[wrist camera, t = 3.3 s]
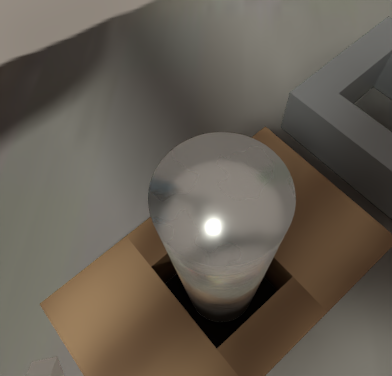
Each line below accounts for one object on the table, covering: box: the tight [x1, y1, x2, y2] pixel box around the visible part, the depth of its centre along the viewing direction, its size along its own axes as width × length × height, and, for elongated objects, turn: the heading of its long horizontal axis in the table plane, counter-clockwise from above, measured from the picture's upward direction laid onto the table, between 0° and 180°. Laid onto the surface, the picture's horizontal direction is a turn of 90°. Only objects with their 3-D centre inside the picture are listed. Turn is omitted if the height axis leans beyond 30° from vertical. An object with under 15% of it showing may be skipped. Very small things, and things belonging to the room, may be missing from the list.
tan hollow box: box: [40, 126, 392, 376], centre depth 26 cm, size 12×20×6 cm, turn 130°
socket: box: [281, 16, 392, 219], centre depth 32 cm, size 13×13×5 cm
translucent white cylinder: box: [148, 132, 296, 322], centre depth 20 cm, size 5×5×18 cm
